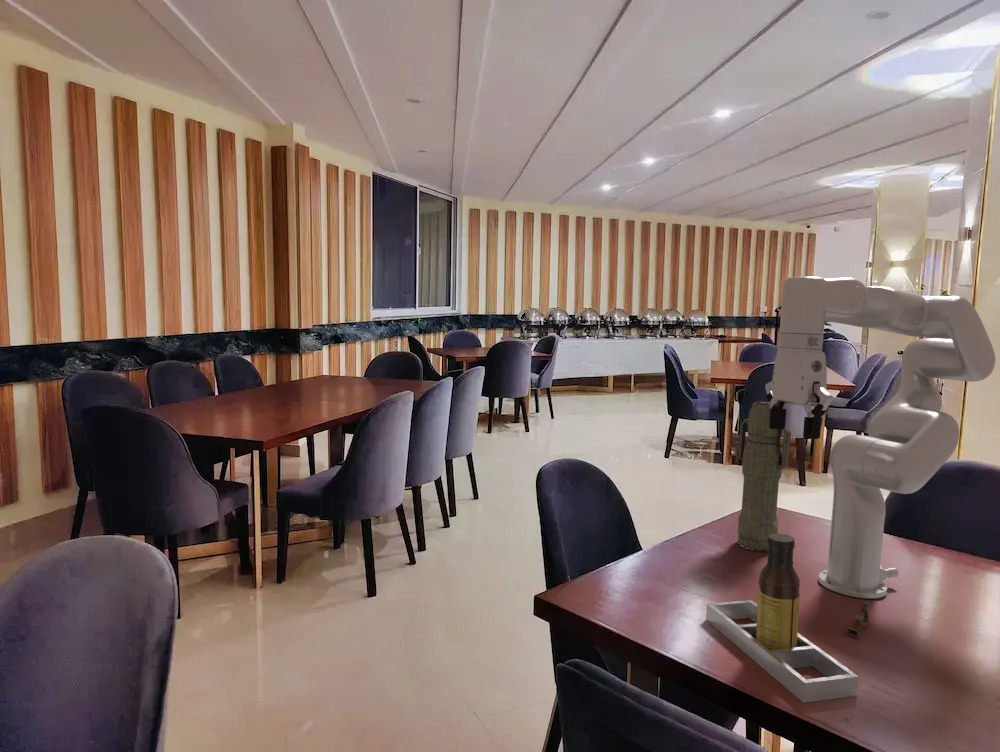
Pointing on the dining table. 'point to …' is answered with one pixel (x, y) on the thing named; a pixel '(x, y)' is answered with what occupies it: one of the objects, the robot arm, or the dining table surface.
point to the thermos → (760, 476)
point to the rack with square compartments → (784, 655)
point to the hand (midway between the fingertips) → (793, 433)
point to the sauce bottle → (778, 596)
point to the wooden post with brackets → (859, 621)
